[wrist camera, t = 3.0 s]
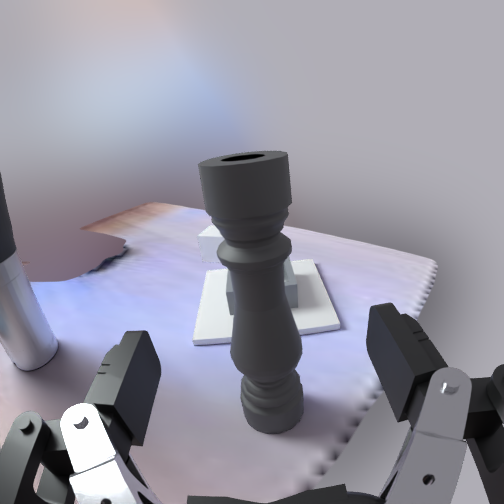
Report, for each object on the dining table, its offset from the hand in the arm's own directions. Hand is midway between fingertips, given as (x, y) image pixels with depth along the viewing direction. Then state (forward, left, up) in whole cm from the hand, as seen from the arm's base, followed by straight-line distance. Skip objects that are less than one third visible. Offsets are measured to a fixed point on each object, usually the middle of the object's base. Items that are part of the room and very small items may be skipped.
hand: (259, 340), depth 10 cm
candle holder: (0, +11, -20) cm, 23 cm away
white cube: (-8, +51, -20) cm, 56 cm away
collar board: (0, +33, -20) cm, 39 cm away
